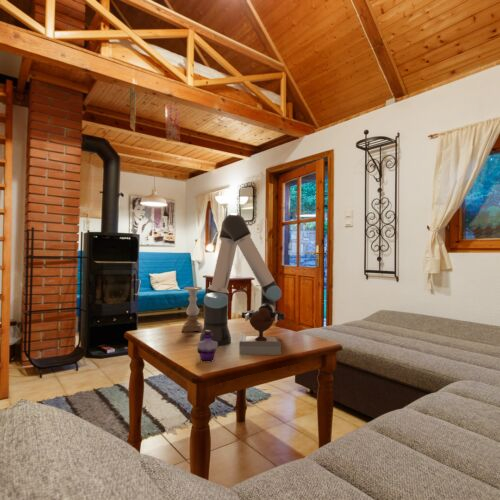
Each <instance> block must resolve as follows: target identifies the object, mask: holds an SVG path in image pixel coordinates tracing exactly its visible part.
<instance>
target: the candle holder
mask: <svg viewBox="0 0 500 500" xmlns="http://www.w3.org/2000/svg"><path fill="white" fill-rule="evenodd" d="M183 290H184V291H188V293H189V297H188V298H187V299H188V300H187V301H189V305H188V306H187V308H186V310H185V311H186V312H185V313H186V314H187V317H186V319H187V321H185V322H184V324H183V326H182V327H181V332H182V331H199V332H198V333H202V330H203V324H202V322H199V321H198V319H199V316H198V315H199V313H200V309H199V307H198V305H197V301H198V297H197V294H198V293H199V291H201V290H203V287H202V286H201V287H200V286H186V287H183Z"/></svg>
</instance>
